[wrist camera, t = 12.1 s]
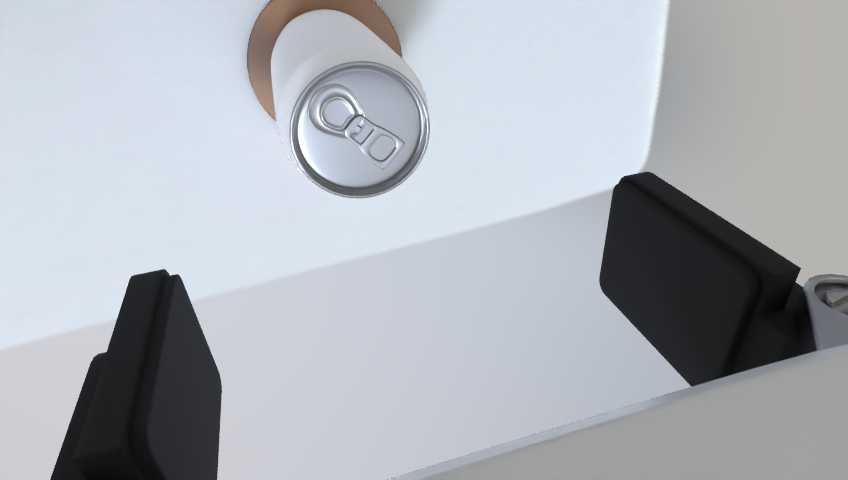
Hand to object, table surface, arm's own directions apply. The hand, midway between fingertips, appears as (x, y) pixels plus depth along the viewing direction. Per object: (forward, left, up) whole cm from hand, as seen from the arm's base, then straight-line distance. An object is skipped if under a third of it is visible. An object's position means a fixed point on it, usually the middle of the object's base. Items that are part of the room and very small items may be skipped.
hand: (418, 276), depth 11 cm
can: (+1, +1, -23) cm, 23 cm away
